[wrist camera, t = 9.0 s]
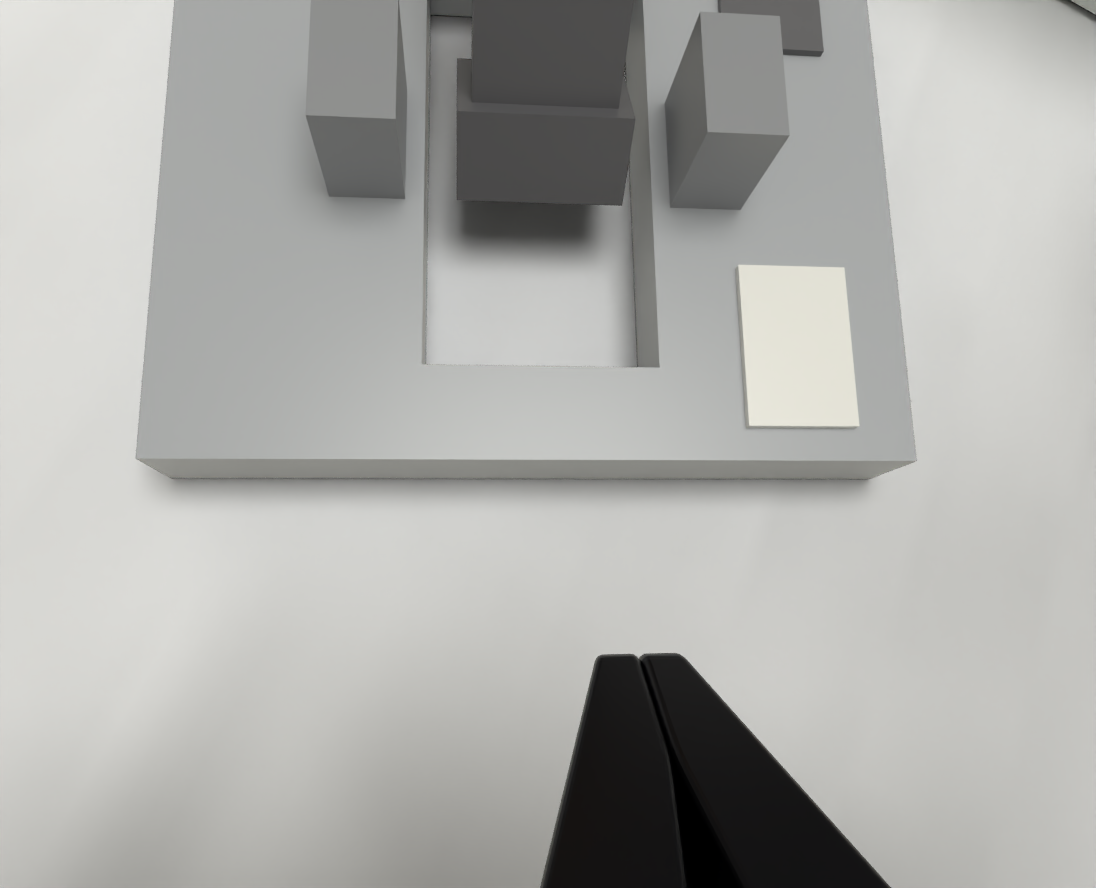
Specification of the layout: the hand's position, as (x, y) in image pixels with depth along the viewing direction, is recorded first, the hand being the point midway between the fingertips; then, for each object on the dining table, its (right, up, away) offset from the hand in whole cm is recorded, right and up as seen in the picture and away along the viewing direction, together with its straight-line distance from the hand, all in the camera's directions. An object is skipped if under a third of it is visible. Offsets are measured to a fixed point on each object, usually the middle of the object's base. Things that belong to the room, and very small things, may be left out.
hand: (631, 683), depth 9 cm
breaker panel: (-1, +8, +13) cm, 16 cm away
